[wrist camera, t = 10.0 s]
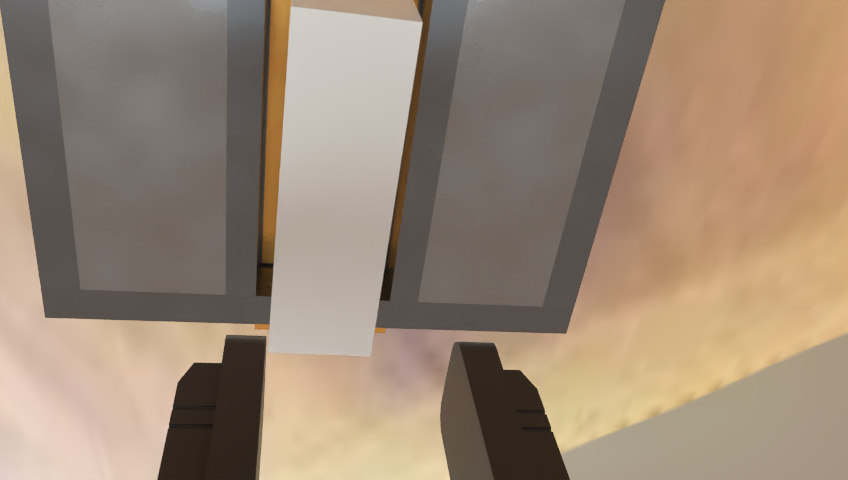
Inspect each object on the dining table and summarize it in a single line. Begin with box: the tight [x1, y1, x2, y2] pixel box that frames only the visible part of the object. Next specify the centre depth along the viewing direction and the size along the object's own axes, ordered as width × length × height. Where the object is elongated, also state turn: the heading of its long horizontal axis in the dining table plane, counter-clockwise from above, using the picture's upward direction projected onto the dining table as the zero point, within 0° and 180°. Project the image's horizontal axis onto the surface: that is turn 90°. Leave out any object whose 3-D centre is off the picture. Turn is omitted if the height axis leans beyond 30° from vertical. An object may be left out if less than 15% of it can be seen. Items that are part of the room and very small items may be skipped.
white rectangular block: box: [268, 0, 423, 356], centre depth 22 cm, size 3×10×6 cm, turn 171°
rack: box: [0, 0, 665, 334], centre depth 24 cm, size 18×15×2 cm
